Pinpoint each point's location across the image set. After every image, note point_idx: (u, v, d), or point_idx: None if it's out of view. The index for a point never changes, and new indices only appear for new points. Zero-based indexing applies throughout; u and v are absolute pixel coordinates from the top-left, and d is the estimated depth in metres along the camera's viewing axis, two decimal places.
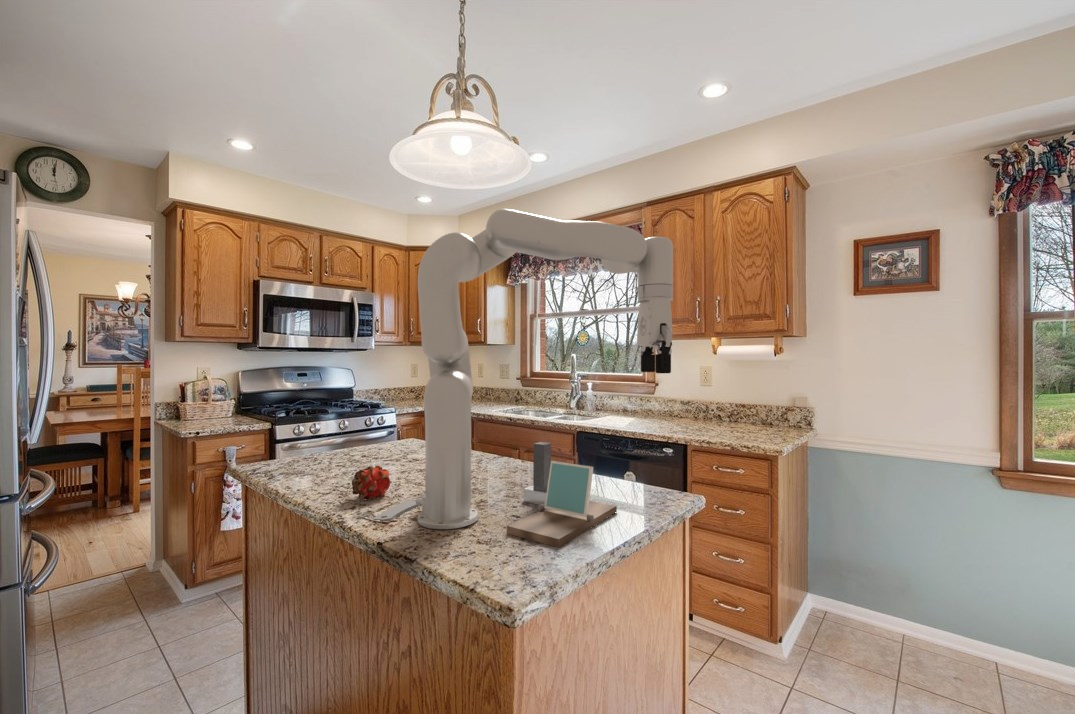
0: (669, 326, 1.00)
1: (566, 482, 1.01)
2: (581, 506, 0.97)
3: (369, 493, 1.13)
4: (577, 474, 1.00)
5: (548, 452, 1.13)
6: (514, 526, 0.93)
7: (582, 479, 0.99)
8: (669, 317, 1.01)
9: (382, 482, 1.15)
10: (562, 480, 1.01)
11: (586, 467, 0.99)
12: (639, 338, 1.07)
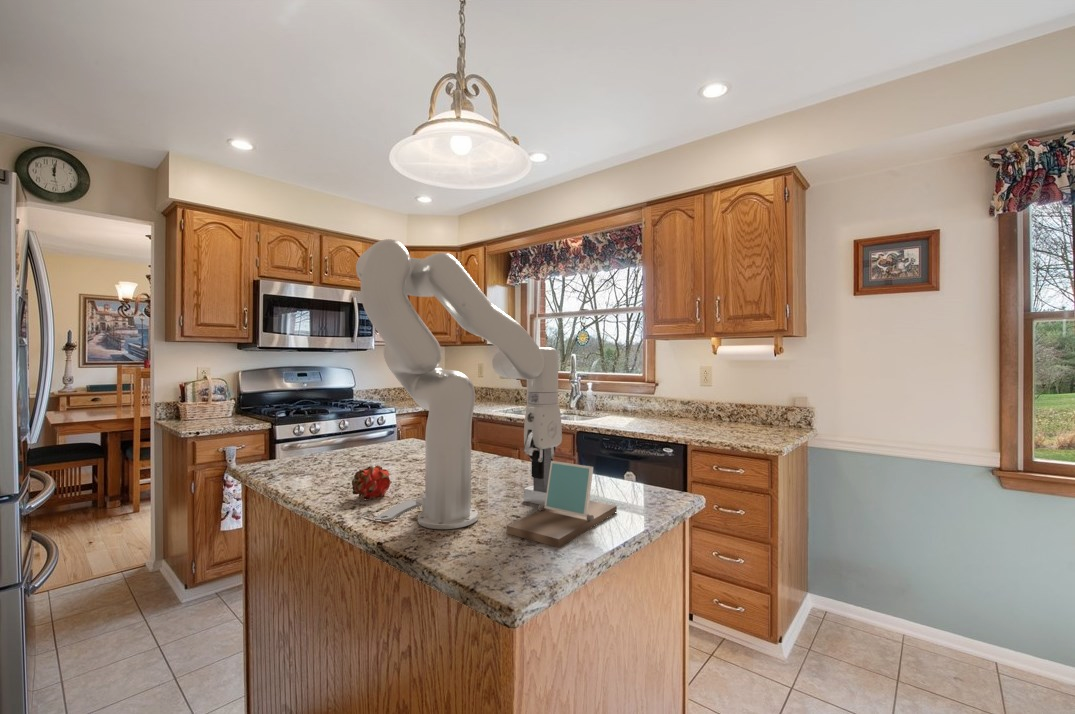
0: None
1: (566, 482, 1.01)
2: (581, 506, 0.97)
3: (369, 493, 1.13)
4: (577, 474, 1.00)
5: (548, 452, 1.13)
6: (514, 526, 0.93)
7: (582, 479, 0.99)
8: None
9: (382, 482, 1.15)
10: (562, 480, 1.01)
11: (586, 467, 0.99)
12: (546, 441, 1.10)
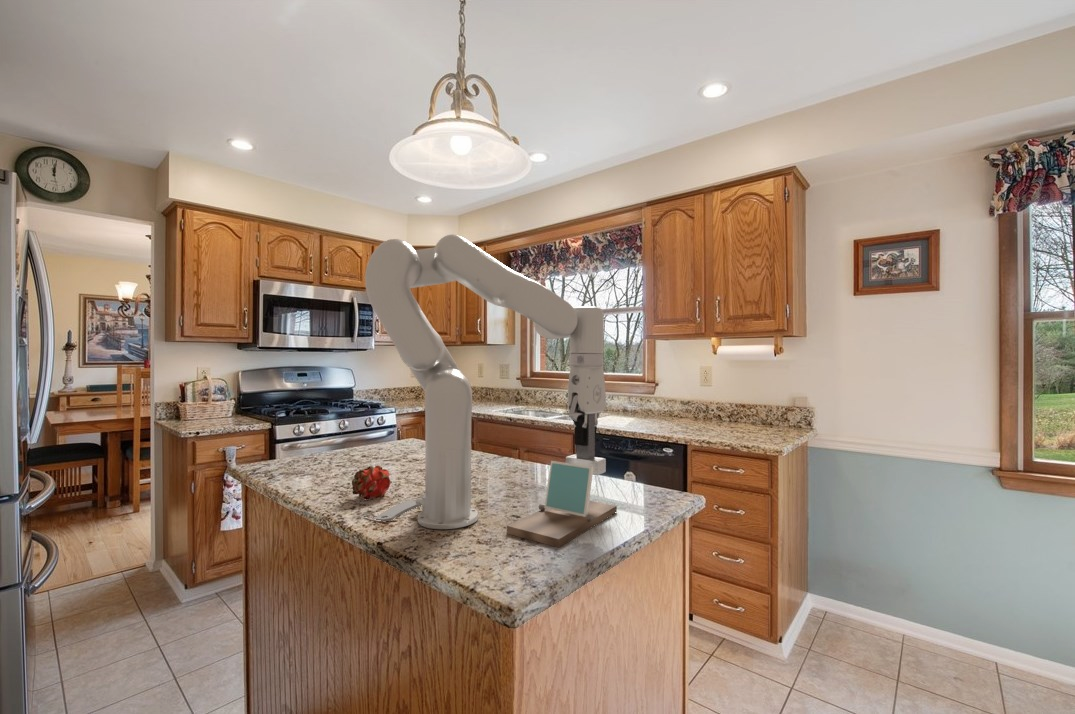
0: None
1: (566, 482, 1.01)
2: (581, 506, 0.97)
3: (369, 493, 1.13)
4: (577, 474, 1.00)
5: (592, 418, 1.06)
6: (514, 526, 0.93)
7: (582, 479, 0.99)
8: None
9: (382, 482, 1.15)
10: (562, 480, 1.01)
11: (586, 467, 0.99)
12: (591, 406, 1.03)
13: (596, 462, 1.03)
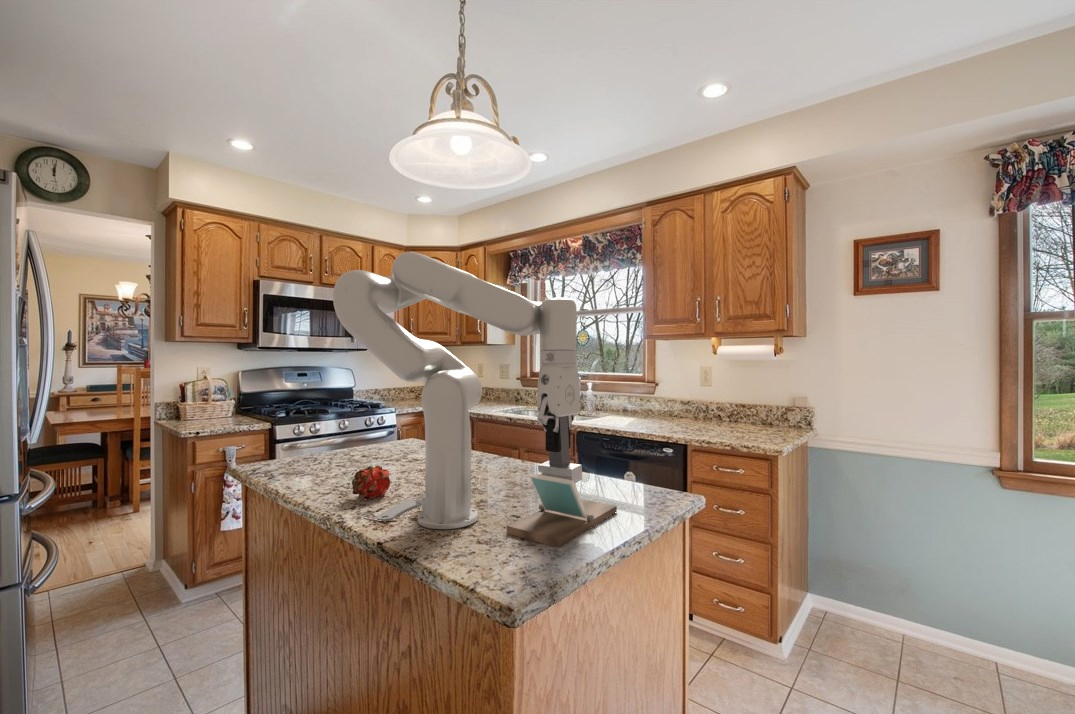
0: None
1: (553, 493, 0.97)
2: (578, 512, 0.96)
3: (369, 493, 1.13)
4: (560, 488, 0.94)
5: (564, 422, 0.96)
6: (514, 526, 0.93)
7: (567, 492, 0.94)
8: None
9: (382, 482, 1.15)
10: (549, 491, 0.97)
11: (566, 483, 0.93)
12: (563, 408, 0.93)
13: (570, 470, 0.93)
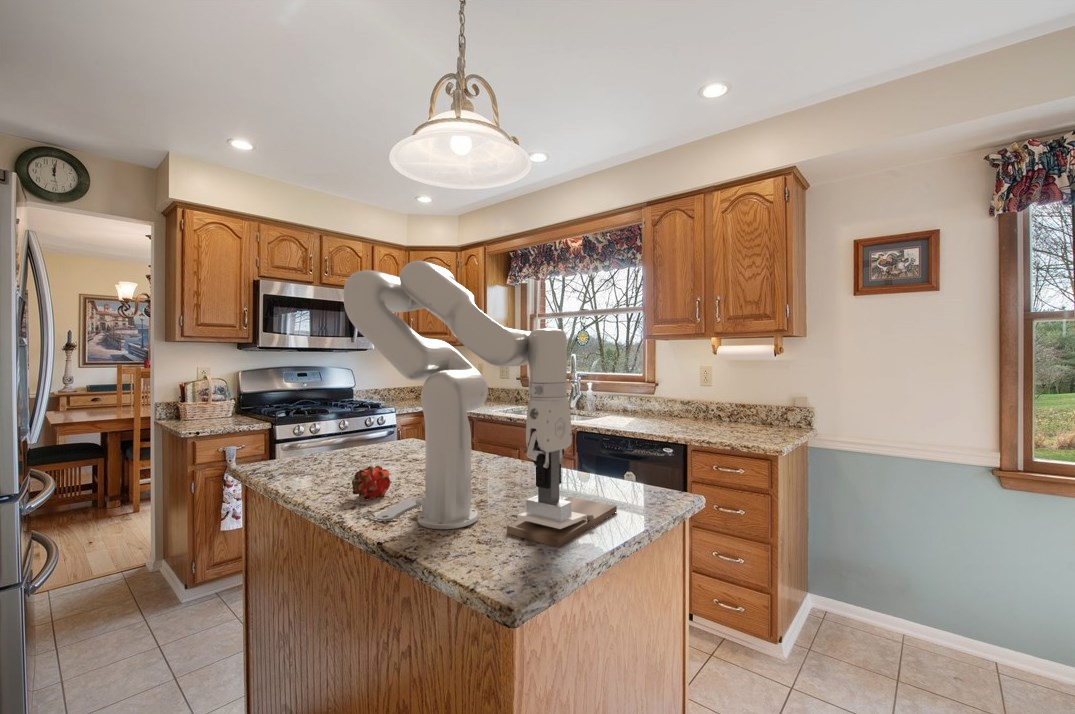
0: None
1: None
2: None
3: (369, 493, 1.13)
4: None
5: (556, 456, 0.93)
6: (514, 526, 0.93)
7: None
8: None
9: (382, 482, 1.15)
10: None
11: (555, 527, 0.89)
12: (553, 443, 0.90)
13: (559, 508, 0.90)
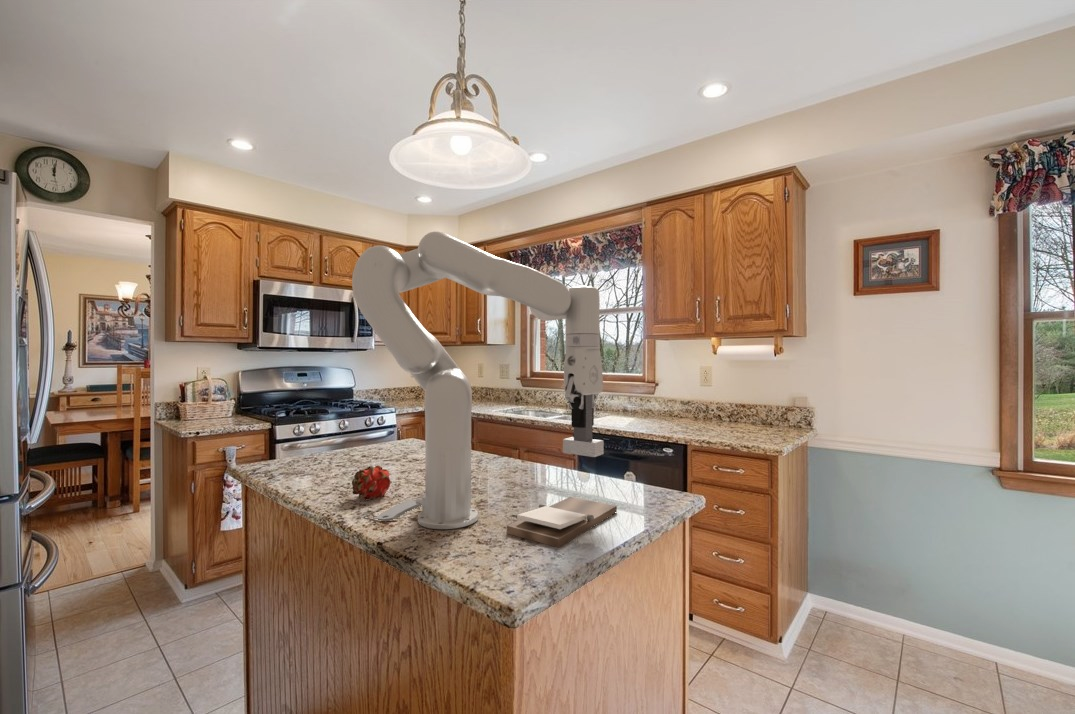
0: None
1: None
2: None
3: (369, 493, 1.13)
4: None
5: (589, 400, 1.05)
6: (514, 526, 0.93)
7: None
8: None
9: (382, 482, 1.15)
10: None
11: (555, 527, 0.89)
12: (588, 387, 1.02)
13: (594, 444, 1.01)
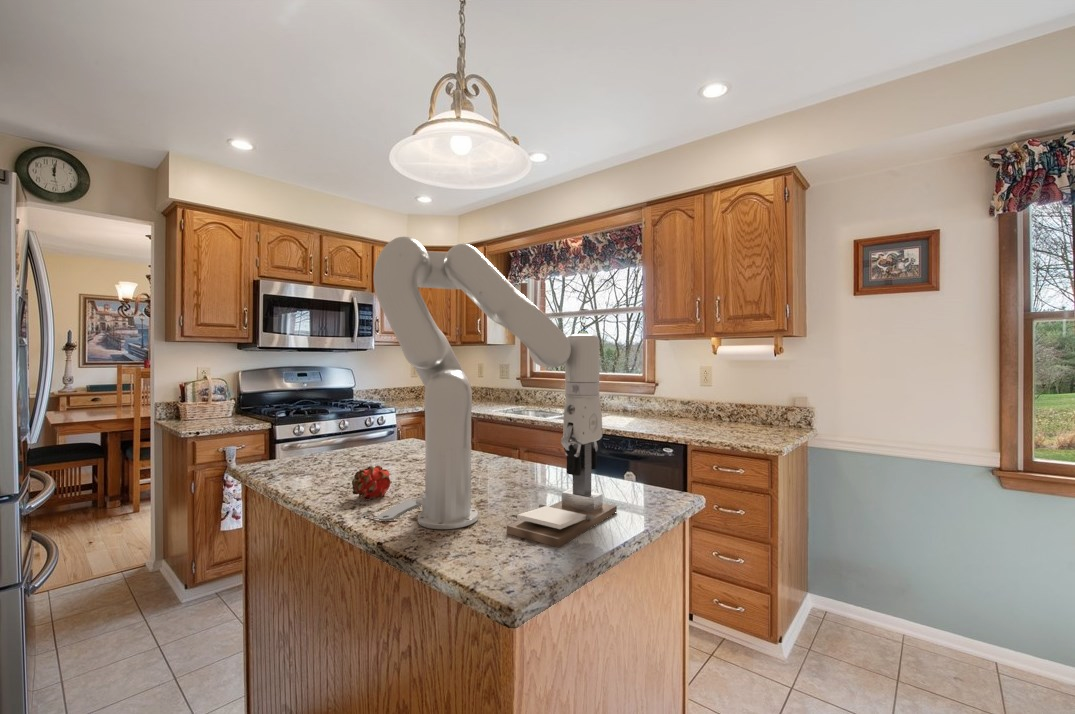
0: None
1: None
2: None
3: (369, 493, 1.13)
4: None
5: (588, 453, 1.05)
6: (514, 526, 0.93)
7: None
8: None
9: (382, 482, 1.15)
10: None
11: (555, 527, 0.89)
12: (587, 435, 1.02)
13: (592, 499, 1.01)
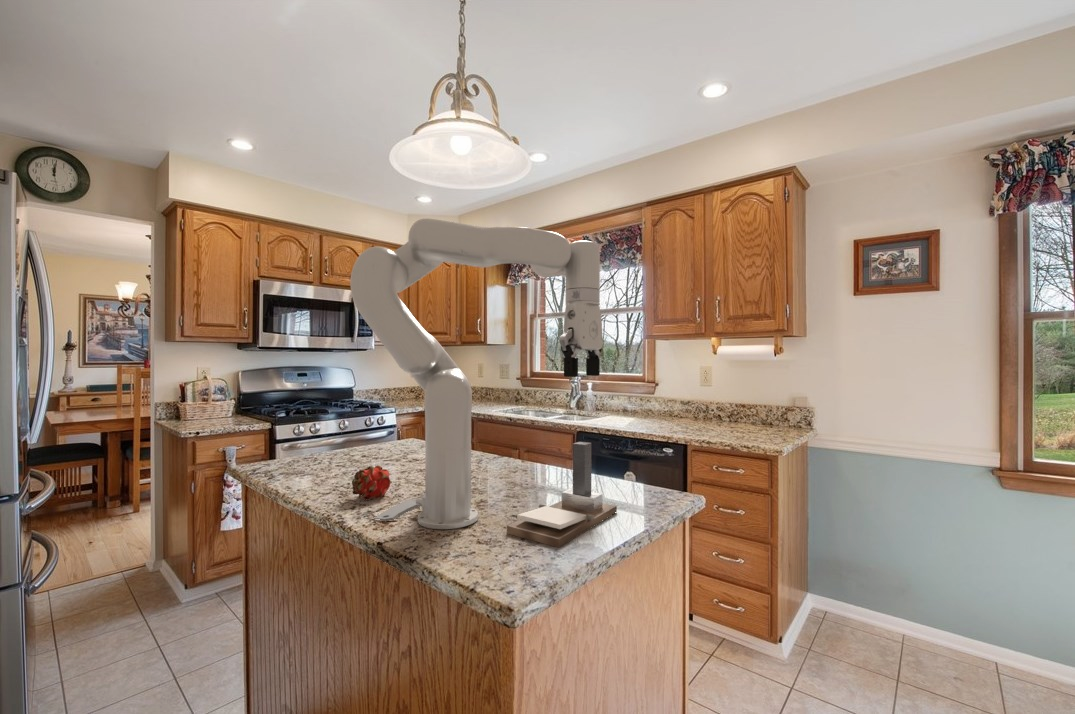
0: None
1: None
2: None
3: (369, 493, 1.13)
4: None
5: (588, 453, 1.05)
6: (514, 526, 0.93)
7: None
8: None
9: (382, 482, 1.15)
10: None
11: (555, 527, 0.89)
12: (588, 341, 1.02)
13: (592, 499, 1.01)
